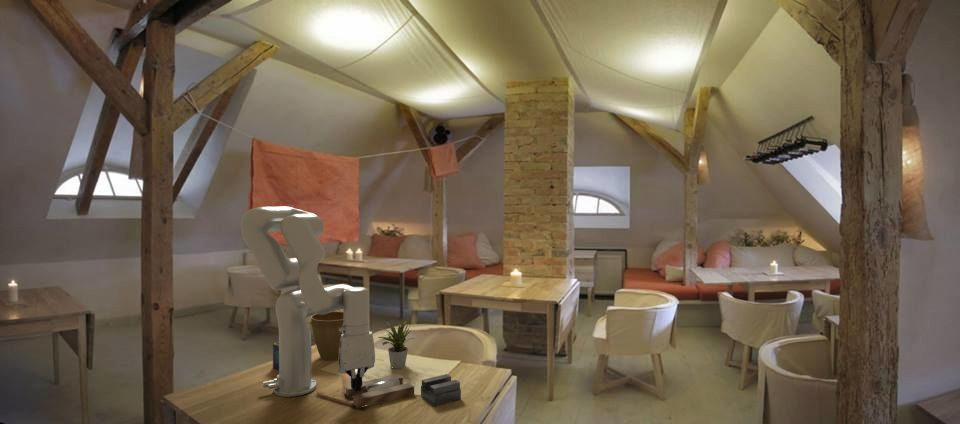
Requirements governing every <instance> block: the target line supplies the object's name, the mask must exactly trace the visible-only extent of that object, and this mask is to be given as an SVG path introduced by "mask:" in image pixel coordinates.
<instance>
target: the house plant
mask: <svg viewBox="0 0 960 424" xmlns="http://www.w3.org/2000/svg"><path fill="white" fill-rule="evenodd" d="M407 321H408V320H405V321H404V322H403V323H402V324H401V322H400V323H399V324H398V327H397V331H396V328H395V326H394V325H391V323H389V322H387V321H386V322H385V323H387V324H388V326H389V328H390V330H391V332H390V331H389V330H387V329H386V328H383V327H382V328H381V327H380V329H381V330H382V331H386V333H387V334H386V335H387V336H388V337H386V336H378V337H377V338H378V339H382V340H383V341H384V342H381V344H380V345H382V346H384V345H387V344H390V345H391V347H389V348H388V356H389V358H388V359H389V364H390V368H391V367H393V368H392V369H394V368H400V369H403V368H405V367H406V362H407V357H408V351H409V347H407V346H406V344H405V343H406V342H407V341H409V340H412V339H413V340H414V339H415V338H414V337H412V338H411V337H410V338H408V339H406V337H407V336H408V335H409V334H410V333H411V330H410V328H411V326H409V323H407ZM406 323H407V325H406ZM408 326H409V327H408ZM415 340H416V339H415ZM388 341H389V342H388ZM382 346H381V347H382Z"/></svg>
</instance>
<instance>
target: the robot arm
mask: <svg viewBox="0 0 960 424" xmlns="http://www.w3.org/2000/svg"><path fill="white" fill-rule="evenodd" d="M324 226H325V225H324V222H323V220H322V219H321V218H320V216H318V215H317V214H315V213H312V212H310V211H309V212H308V211H304V210H302V209H297V208H294V207H291V206H258V207H253V208H251V209H249V210H247V211H246V212H245V213H244V214H243V216H242V218H241V223H240V232H241V233H240V234H241V235H242V236H241V237H242V238H243V240H244V242H245V244H246V246H247V247H248V249H249V250H250V251H251V253H252V254H253V256H254V258H255V260H256V263H257V265H258V267H259V268H260V270H261V273H262V275H263V276H264V279H265V281H266V283H267V284H268V285H269V287H270V288H271V289H272V290H275V291H282V290H287V291H285V292H284V293H282V294H280V295H279V296H278V298H277V300H276V302H275V305H274V307H275V315H276V318H277V325H278V342H279V371H278V374H277V375H276V377H275V378H274V377H273V379H271V380H265V381H262V389H265V388H267V389H268V390H271V389H273V393H274V394H275V395H276V396H279V397H284V398H285V397H286V398H287V397H288V398H289V397H290V398H291V397H299V396H302V395H306V394H309V393H311V392H312V391H314V390H315V389H316V388H317V386H318V384H317V381H316V380H315V379H313V378H312V330H311V326H310V325H309V322H308V320H307V318H308V317H311V316H313V315H315V314H320V315H324V314H328V313H331V312H337V311H340V310H342V309H343V311H342V312H343V326H342V327H340V328H339V332H343V334H342V335H341V339H340V345H339V355H338V359H337V362H338V370H337V372H338V373H339V374H343V375H348V376H349V377H350V384H351V388H353V390H354V391H355V392H356V391H361V386H362V382H363V377H364V375H365V373H367V371H368V370H371V369H372V368H374V367H375V363H376V351H375V341H374V336H373V332H372V331H370V291H369V289H368V288H366V287H364V286H351V285H348V284H342V283H340V284H338V283H337V284H335V285H331V286H328V287H327V286H326V287H325V286H324V285H323V282H322V281H321V279H320V278H319V275H318V266H319V264H320V263H321V262H322V260H323V259H324V258H325V257H326V254H327V253H326V251H325V248H324V247H323V245H322V244H321V241H320V240H319V238H320V237H321V236H322V234H323V233H324V229H325V227H324ZM279 232H280V233H281V234H282V236H283V239H284V240H285V241H286V243H287V246H288V247H289V249H290V251H291V252H292V254H293V256H294V257H288V256H287V254H286V252H285V250H284V248H283V247H282V245H281V244H280V243H279V241H278V240H277V239H276V238H274V237H273V236H272V235H271V234H270V233H279ZM290 288H294V289H290ZM288 289H290V290H288Z"/></svg>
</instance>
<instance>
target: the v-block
mask: <svg viewBox="0 0 960 424" xmlns="http://www.w3.org/2000/svg"><path fill="white" fill-rule="evenodd" d="M420 396H421V397H422V398H423V399H424V400H426V401H427V402H428V403H429V404H431V405H432V406H434V407H437V406H441V405H445V404H448V403H452V402H453V403H454V402H456V401H459V400H461V399H462V389H461V382H460V381H459V380H457V379H453V380H452V376H451V375H449V374H448V373H446V374H441V375H437V376H432V377H429V378H425V379H421V385H420Z"/></svg>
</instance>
